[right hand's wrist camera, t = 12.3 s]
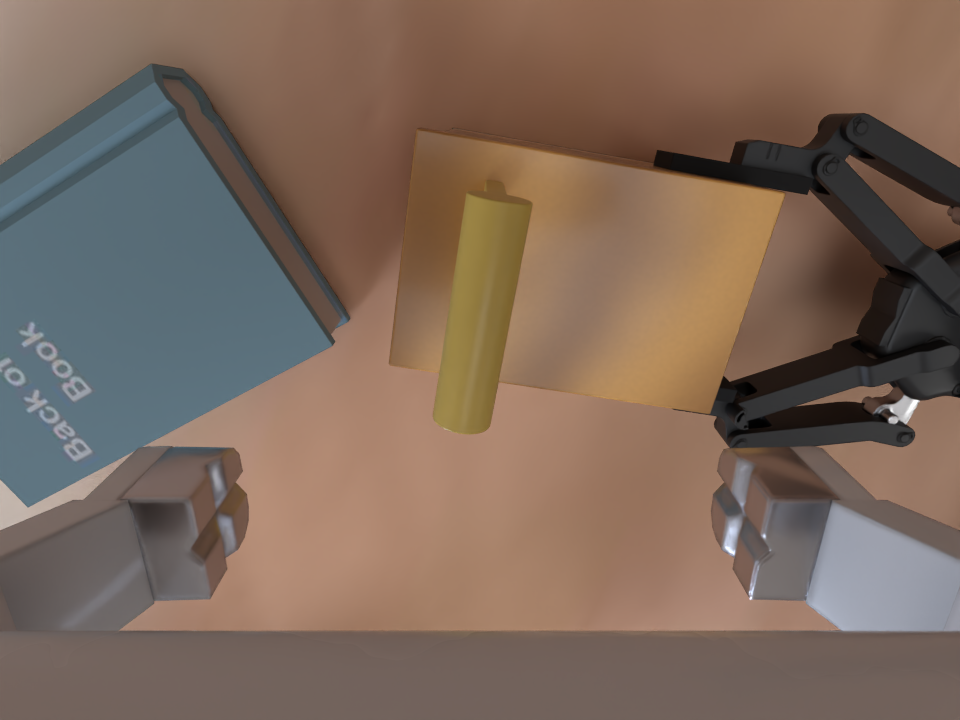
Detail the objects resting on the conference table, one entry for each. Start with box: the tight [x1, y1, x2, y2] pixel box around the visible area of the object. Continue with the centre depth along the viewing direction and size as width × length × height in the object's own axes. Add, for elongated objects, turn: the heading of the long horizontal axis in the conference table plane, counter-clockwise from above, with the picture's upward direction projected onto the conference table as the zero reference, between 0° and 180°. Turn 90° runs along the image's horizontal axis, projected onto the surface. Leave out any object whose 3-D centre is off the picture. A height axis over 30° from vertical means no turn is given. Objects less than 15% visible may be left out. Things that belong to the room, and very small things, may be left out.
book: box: [0, 64, 350, 507], centre depth 35 cm, size 23×16×5 cm
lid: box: [389, 128, 785, 434], centre depth 22 cm, size 15×10×9 cm
